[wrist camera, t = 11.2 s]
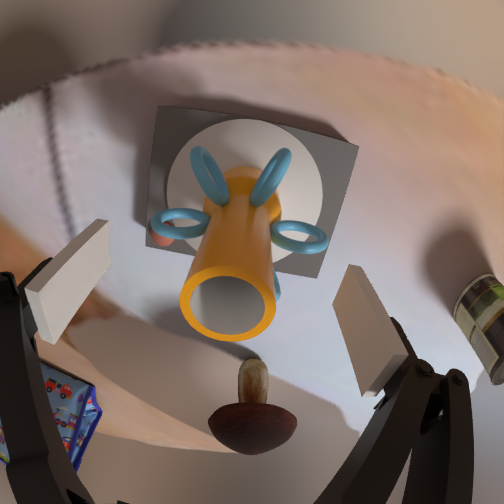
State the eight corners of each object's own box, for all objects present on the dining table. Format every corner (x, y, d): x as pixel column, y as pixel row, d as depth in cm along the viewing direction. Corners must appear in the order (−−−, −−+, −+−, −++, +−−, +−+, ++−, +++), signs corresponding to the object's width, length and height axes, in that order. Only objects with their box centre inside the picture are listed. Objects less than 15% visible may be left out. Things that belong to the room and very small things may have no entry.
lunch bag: (33, 380, 51) (-8, 464, 25) (17, 347, 44) (-38, 441, 19) (104, 412, 53) (71, 512, 27) (95, 383, 46) (49, 502, 21)
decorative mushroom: (247, 325, 37) (241, 427, 23) (306, 358, 40) (318, 449, 26) (203, 364, 41) (187, 451, 28) (259, 391, 44) (257, 471, 30)
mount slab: (154, 234, 31) (143, 249, 27) (168, 106, 24) (155, 106, 21) (312, 263, 32) (317, 282, 29) (349, 142, 26) (361, 147, 22)
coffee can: (471, 269, 32) (525, 331, 20) (505, 276, 33) (552, 329, 20) (441, 324, 37) (480, 390, 24) (478, 325, 37) (514, 381, 25)
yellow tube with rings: (160, 167, 24) (58, 239, 10) (266, 110, 21) (279, 104, 8) (225, 274, 29) (202, 404, 15) (323, 232, 26) (376, 352, 13)
